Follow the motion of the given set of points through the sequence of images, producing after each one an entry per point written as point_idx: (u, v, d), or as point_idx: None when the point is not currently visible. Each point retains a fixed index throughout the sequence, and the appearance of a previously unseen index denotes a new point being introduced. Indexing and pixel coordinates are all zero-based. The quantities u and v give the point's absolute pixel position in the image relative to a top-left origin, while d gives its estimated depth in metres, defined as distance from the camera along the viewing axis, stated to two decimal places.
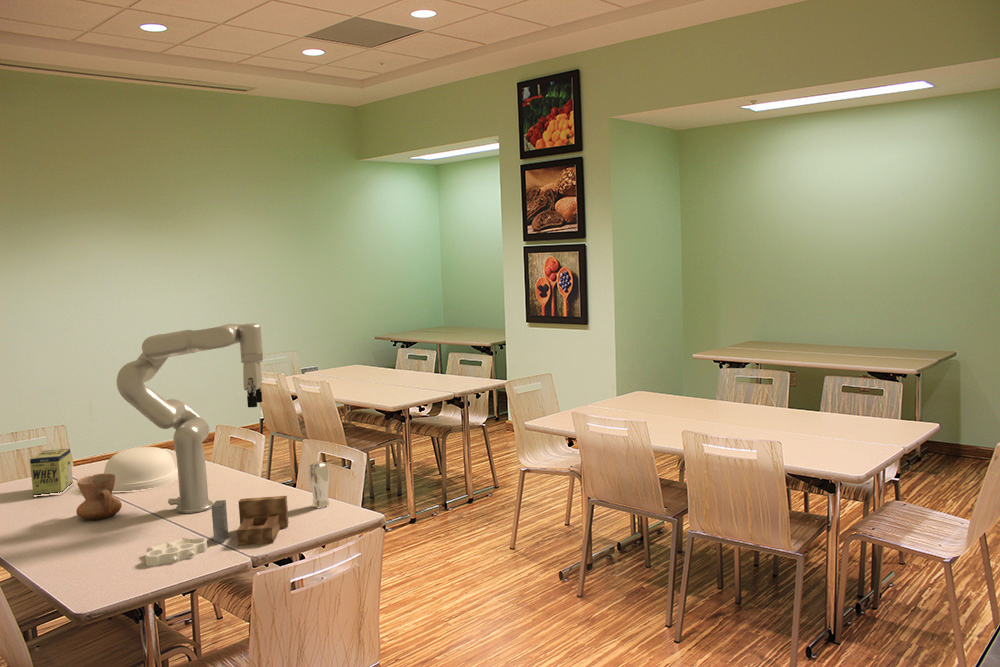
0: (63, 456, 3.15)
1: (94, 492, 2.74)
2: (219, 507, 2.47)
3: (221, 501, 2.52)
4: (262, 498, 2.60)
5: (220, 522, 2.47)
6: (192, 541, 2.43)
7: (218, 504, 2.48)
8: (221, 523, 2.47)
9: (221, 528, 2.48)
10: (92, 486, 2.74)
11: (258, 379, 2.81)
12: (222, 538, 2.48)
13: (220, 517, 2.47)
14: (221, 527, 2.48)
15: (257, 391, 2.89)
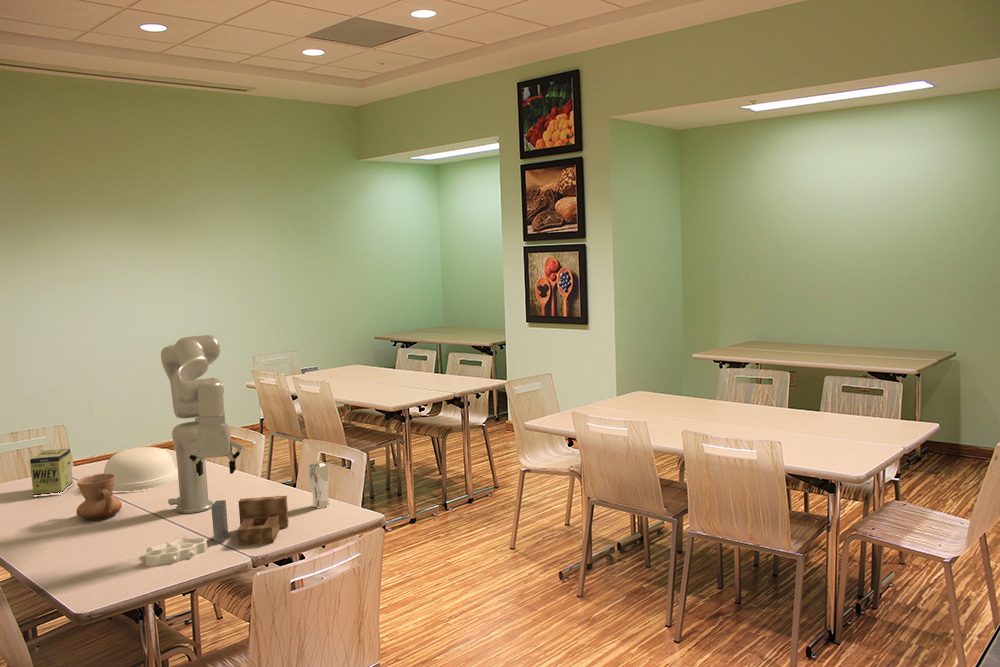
0: (63, 456, 3.15)
1: (94, 492, 2.74)
2: (219, 507, 2.47)
3: (221, 501, 2.52)
4: (262, 498, 2.60)
5: (220, 522, 2.47)
6: (192, 541, 2.43)
7: (218, 504, 2.48)
8: (221, 523, 2.47)
9: (221, 528, 2.48)
10: (92, 486, 2.74)
11: None
12: (222, 538, 2.48)
13: (220, 517, 2.47)
14: (221, 527, 2.48)
15: (200, 462, 2.48)
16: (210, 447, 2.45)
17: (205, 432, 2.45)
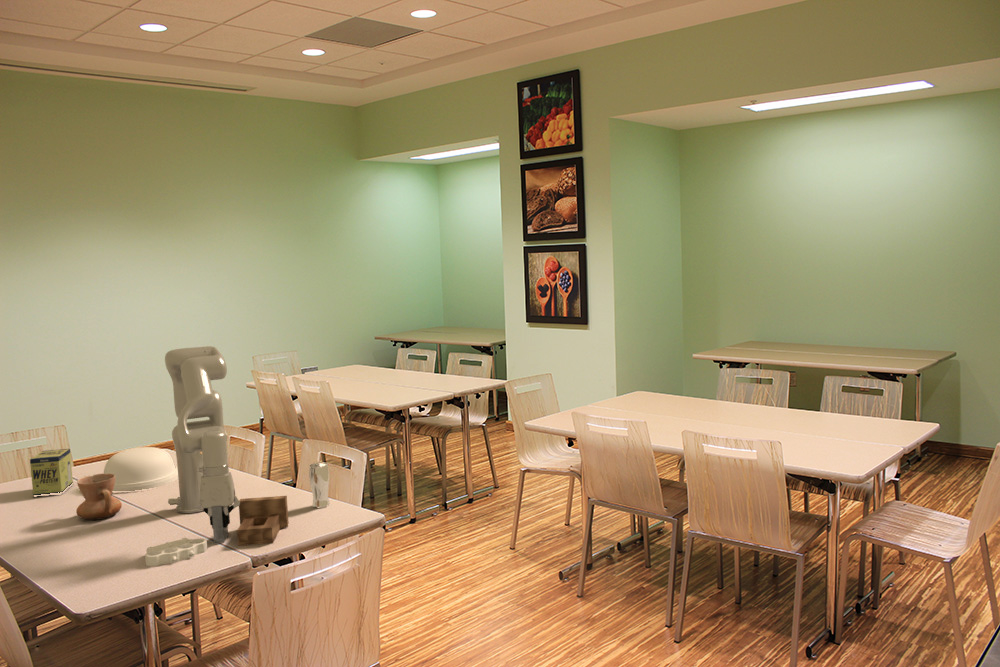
0: (63, 456, 3.15)
1: (94, 492, 2.74)
2: (219, 507, 2.47)
3: None
4: (262, 498, 2.60)
5: (220, 522, 2.47)
6: (192, 541, 2.43)
7: None
8: (221, 523, 2.47)
9: (221, 528, 2.48)
10: (92, 486, 2.74)
11: None
12: (222, 538, 2.48)
13: (220, 517, 2.47)
14: (221, 527, 2.48)
15: None
16: (214, 497, 2.47)
17: (208, 482, 2.46)
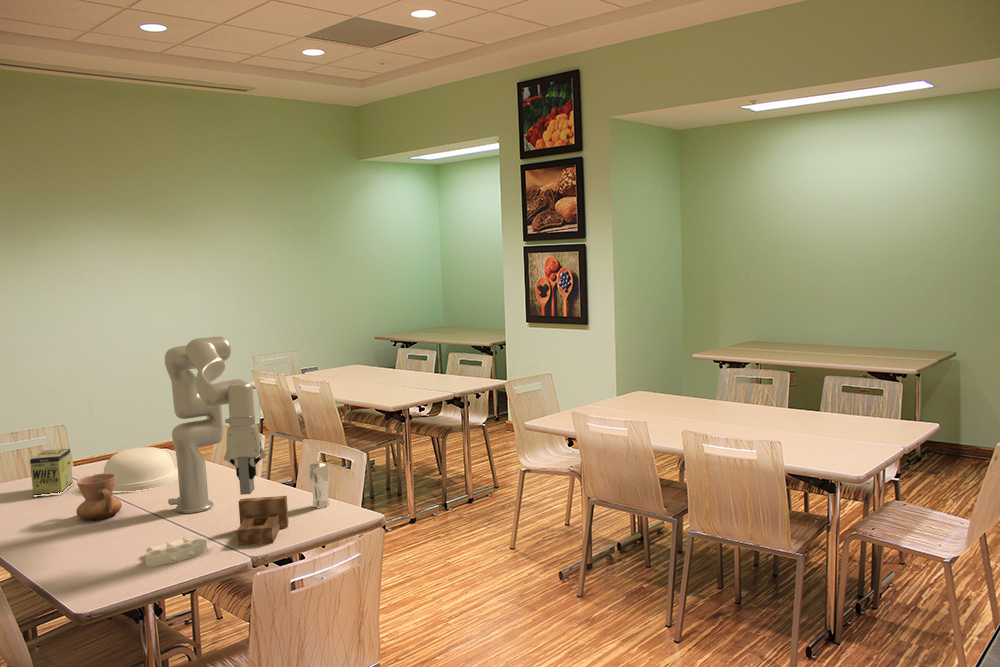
0: (63, 456, 3.15)
1: (94, 492, 2.74)
2: (246, 458, 2.46)
3: None
4: (262, 498, 2.60)
5: (246, 473, 2.47)
6: (192, 541, 2.43)
7: None
8: (247, 474, 2.47)
9: (247, 479, 2.47)
10: (92, 486, 2.74)
11: None
12: (248, 489, 2.47)
13: (246, 468, 2.47)
14: (247, 478, 2.47)
15: None
16: (240, 448, 2.46)
17: (235, 433, 2.46)
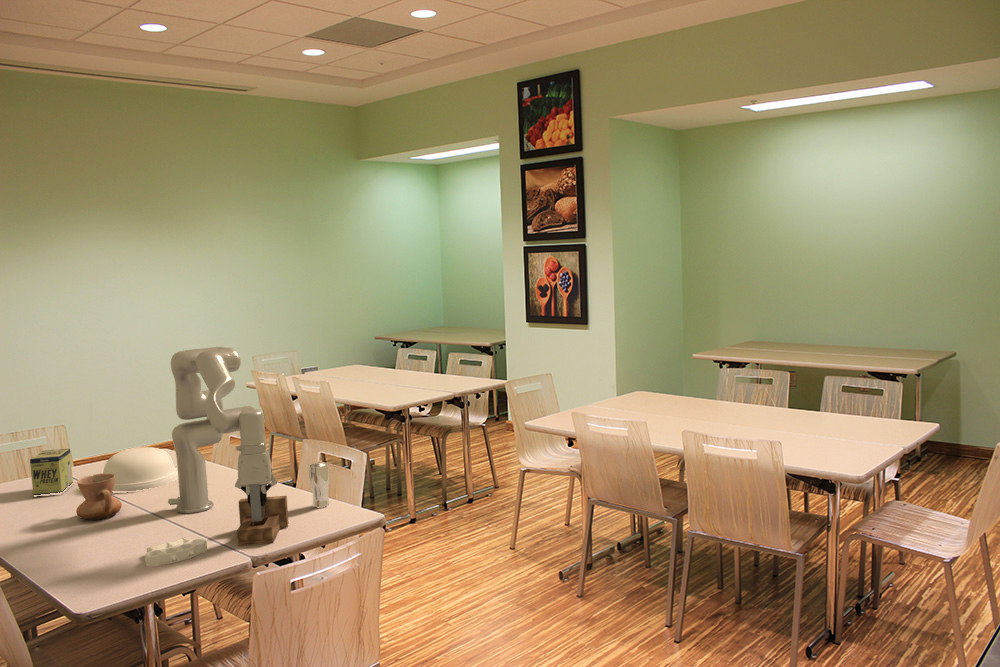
0: (63, 456, 3.15)
1: (94, 492, 2.74)
2: (257, 486, 2.48)
3: None
4: None
5: (257, 500, 2.48)
6: (192, 541, 2.43)
7: None
8: (259, 501, 2.48)
9: (259, 506, 2.48)
10: (92, 486, 2.74)
11: None
12: (260, 516, 2.49)
13: (258, 495, 2.48)
14: (259, 505, 2.48)
15: None
16: (252, 475, 2.47)
17: (246, 460, 2.47)
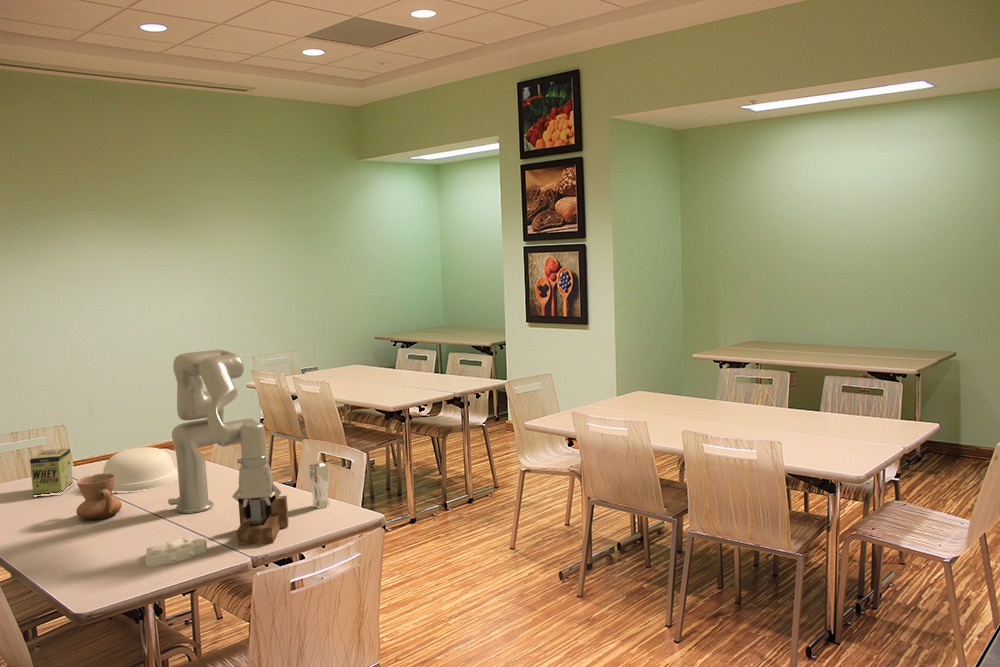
0: (63, 456, 3.15)
1: (94, 492, 2.74)
2: (258, 501, 2.48)
3: None
4: None
5: (258, 516, 2.49)
6: (192, 541, 2.43)
7: (256, 498, 2.50)
8: (260, 517, 2.49)
9: (260, 522, 2.49)
10: (92, 486, 2.74)
11: None
12: None
13: (259, 511, 2.49)
14: (260, 521, 2.49)
15: (248, 505, 2.51)
16: (252, 488, 2.48)
17: (247, 473, 2.47)
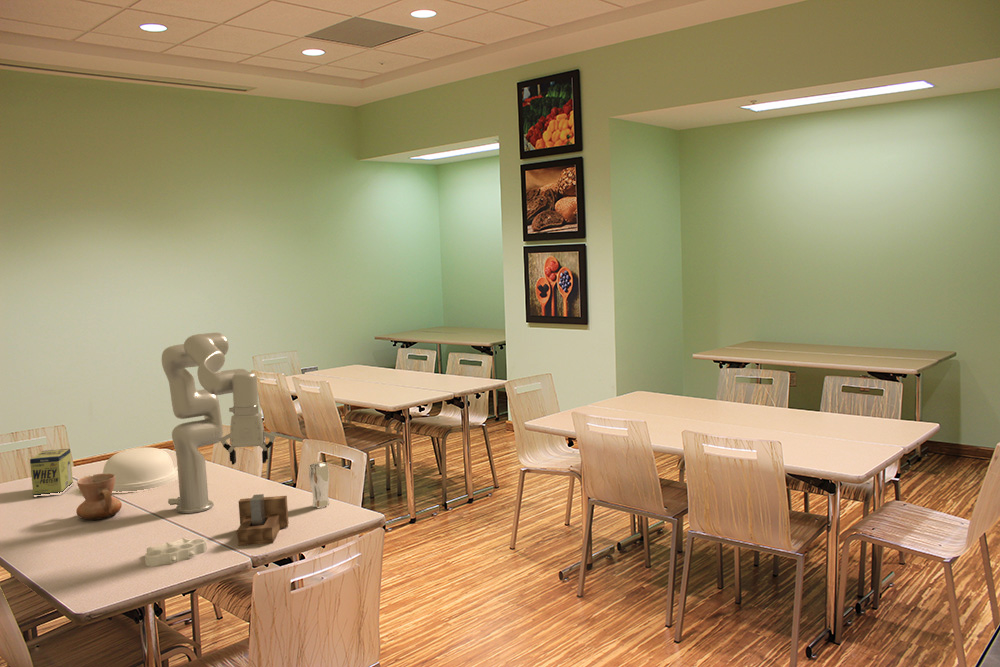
0: (63, 456, 3.15)
1: (94, 492, 2.74)
2: (258, 501, 2.48)
3: (259, 495, 2.53)
4: None
5: (258, 516, 2.49)
6: (192, 541, 2.43)
7: (256, 498, 2.50)
8: (260, 517, 2.49)
9: (260, 522, 2.49)
10: (92, 486, 2.74)
11: None
12: None
13: (259, 511, 2.49)
14: (260, 521, 2.49)
15: (234, 450, 2.53)
16: (244, 437, 2.50)
17: (239, 422, 2.49)
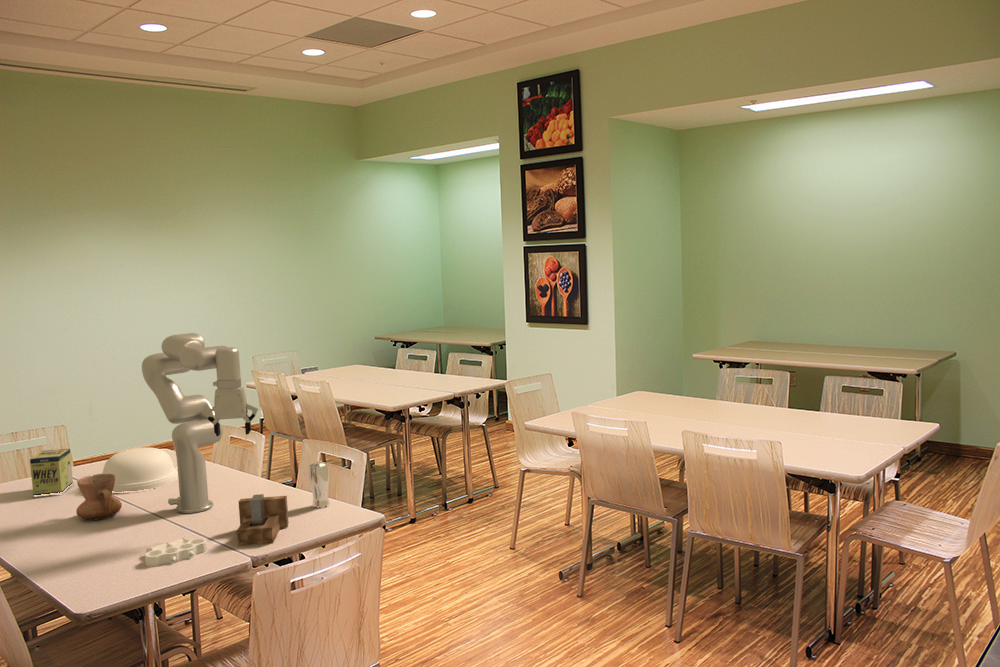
0: (63, 456, 3.15)
1: (94, 492, 2.74)
2: (258, 501, 2.48)
3: (259, 495, 2.53)
4: None
5: (258, 516, 2.49)
6: (192, 541, 2.43)
7: (256, 498, 2.50)
8: (260, 517, 2.49)
9: (260, 522, 2.49)
10: (92, 486, 2.74)
11: None
12: None
13: (259, 511, 2.49)
14: (260, 521, 2.49)
15: (218, 423, 2.65)
16: (227, 409, 2.62)
17: (222, 395, 2.61)
